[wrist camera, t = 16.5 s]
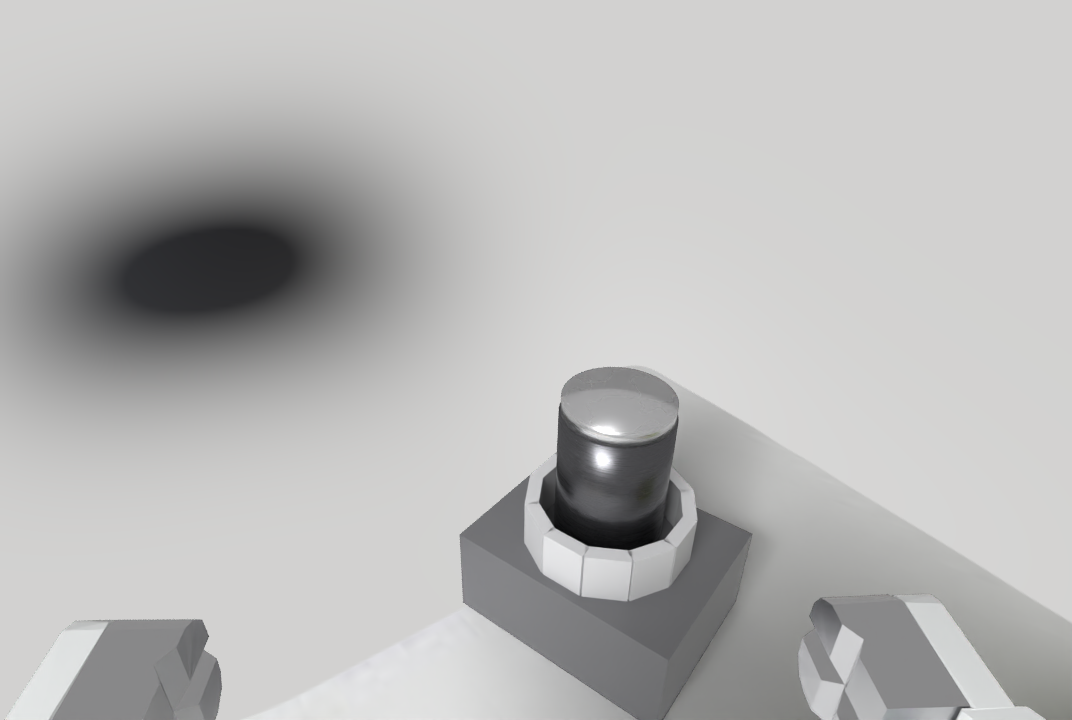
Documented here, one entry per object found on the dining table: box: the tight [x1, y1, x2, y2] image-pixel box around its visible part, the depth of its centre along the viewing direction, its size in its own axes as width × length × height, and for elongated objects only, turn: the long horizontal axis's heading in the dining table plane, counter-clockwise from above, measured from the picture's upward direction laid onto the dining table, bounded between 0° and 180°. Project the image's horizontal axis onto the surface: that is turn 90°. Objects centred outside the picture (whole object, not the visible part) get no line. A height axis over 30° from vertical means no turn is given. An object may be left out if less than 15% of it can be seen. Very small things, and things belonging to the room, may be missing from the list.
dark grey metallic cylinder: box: [554, 367, 679, 551], centre depth 39 cm, size 6×6×10 cm
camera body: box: [460, 453, 752, 720], centre depth 42 cm, size 14×11×9 cm
